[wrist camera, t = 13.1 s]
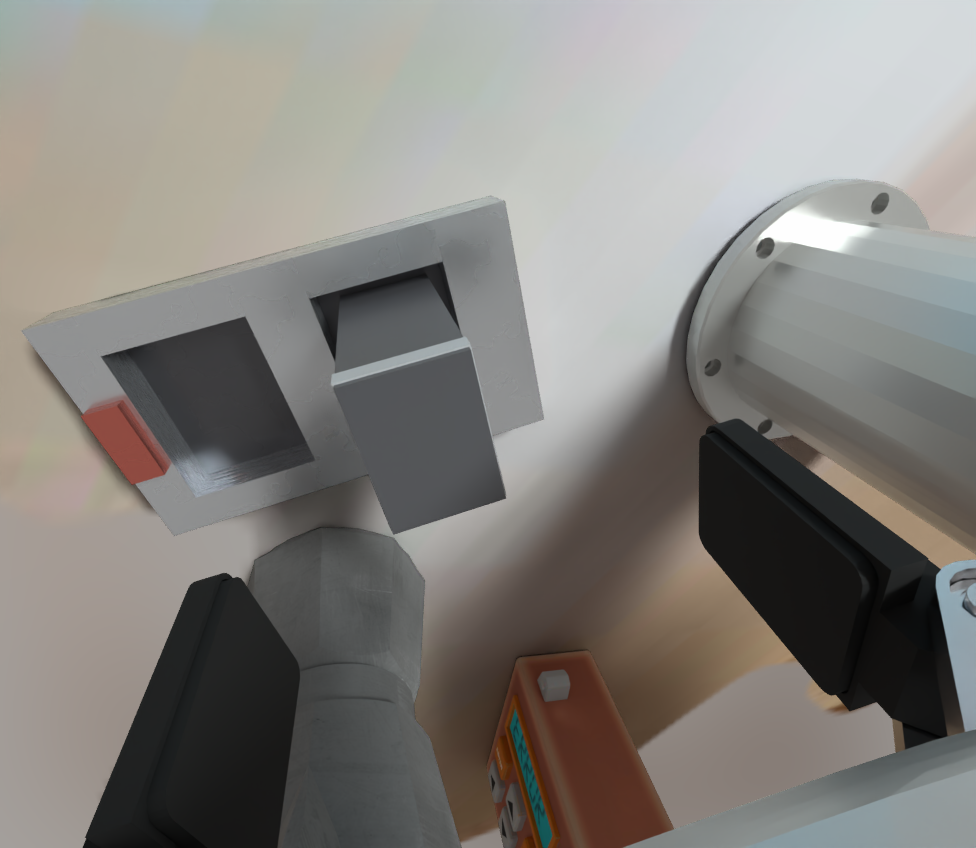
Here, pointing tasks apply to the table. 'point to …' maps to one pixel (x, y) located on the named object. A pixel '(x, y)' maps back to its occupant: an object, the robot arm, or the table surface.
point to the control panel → (568, 762)
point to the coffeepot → (354, 693)
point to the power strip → (276, 361)
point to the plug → (414, 404)
